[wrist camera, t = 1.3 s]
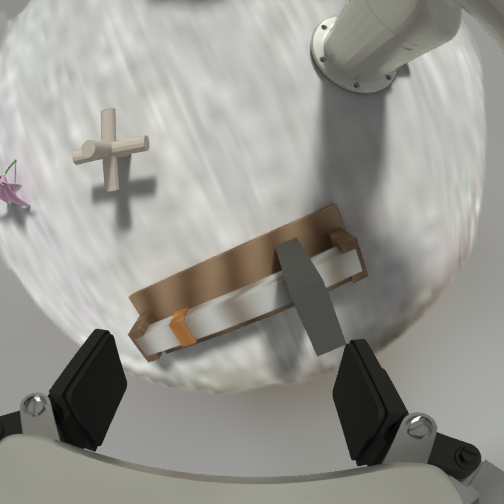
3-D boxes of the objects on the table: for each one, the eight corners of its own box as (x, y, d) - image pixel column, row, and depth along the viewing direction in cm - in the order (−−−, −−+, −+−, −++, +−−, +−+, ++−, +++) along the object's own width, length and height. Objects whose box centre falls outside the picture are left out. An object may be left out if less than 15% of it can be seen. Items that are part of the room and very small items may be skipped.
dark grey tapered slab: (296, 237, 36) (322, 279, 23) (316, 286, 38) (346, 344, 25) (274, 246, 36) (289, 293, 23) (296, 295, 38) (317, 356, 25)
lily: (-5, 183, 34) (-31, 217, 28) (-5, 130, 27) (-38, 161, 21) (40, 201, 39) (17, 239, 33) (45, 147, 32) (14, 182, 26)
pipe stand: (334, 203, 36) (353, 213, 29) (358, 273, 39) (377, 295, 32) (131, 294, 40) (112, 318, 33) (168, 349, 43) (157, 378, 36)
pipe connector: (162, 182, 35) (133, 189, 25) (98, 191, 35) (57, 202, 25) (158, 108, 32) (128, 92, 22) (94, 123, 32) (53, 116, 22)
